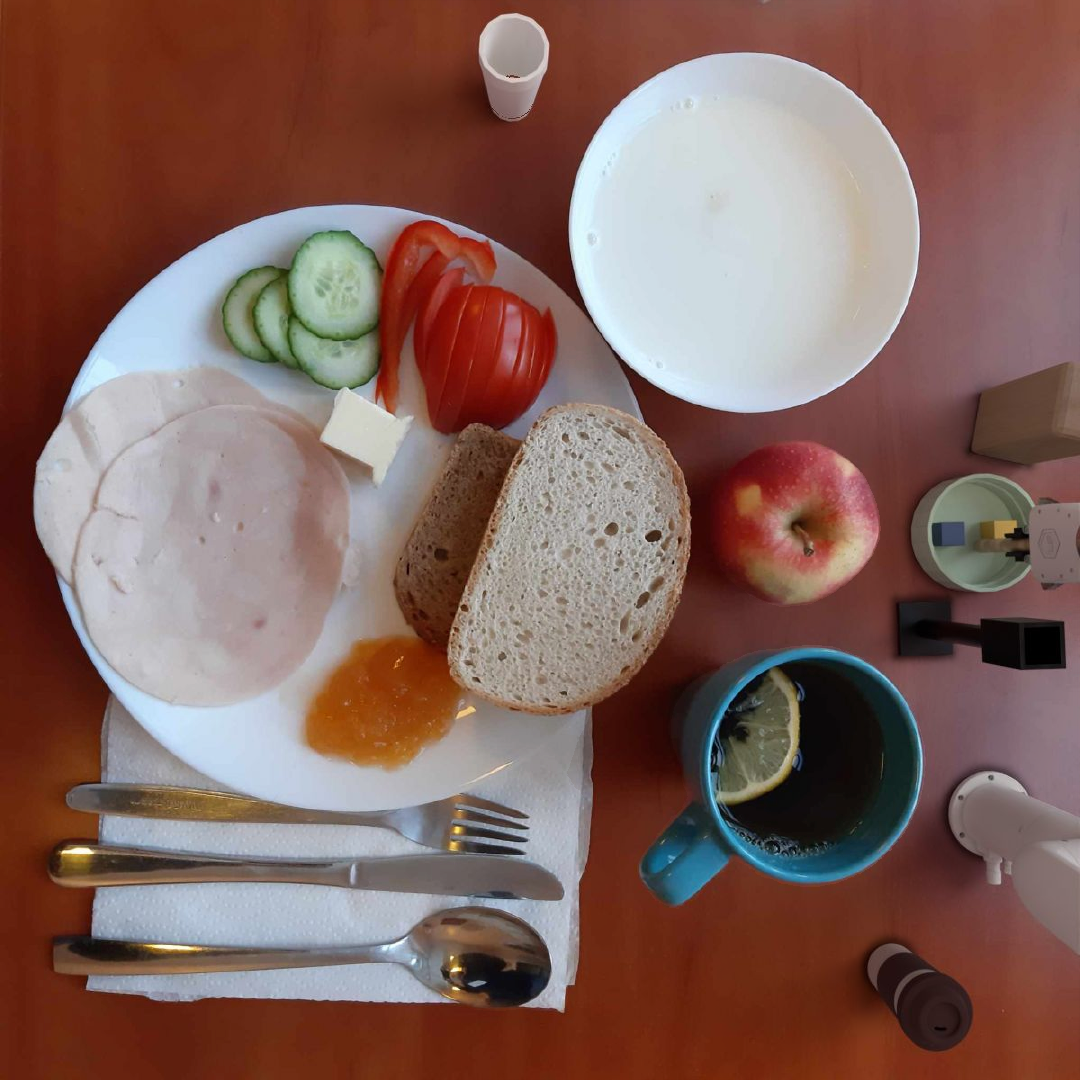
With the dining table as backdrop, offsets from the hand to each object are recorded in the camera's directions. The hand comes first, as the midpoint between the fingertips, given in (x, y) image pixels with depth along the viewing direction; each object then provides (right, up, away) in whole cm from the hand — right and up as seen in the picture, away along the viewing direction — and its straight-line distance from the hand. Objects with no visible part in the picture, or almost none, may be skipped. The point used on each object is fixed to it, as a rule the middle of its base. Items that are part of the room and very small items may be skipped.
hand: (1015, 544), depth 119 cm
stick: (-1, 0, +9) cm, 9 cm away
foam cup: (-71, +66, +8) cm, 97 cm away
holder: (-9, -13, +10) cm, 18 cm away
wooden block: (+5, +18, +11) cm, 22 cm away
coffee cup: (-14, -63, +8) cm, 65 cm away
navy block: (-6, +1, +9) cm, 11 cm away
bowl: (-2, +2, +10) cm, 11 cm away
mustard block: (+2, +2, +10) cm, 10 cm away
